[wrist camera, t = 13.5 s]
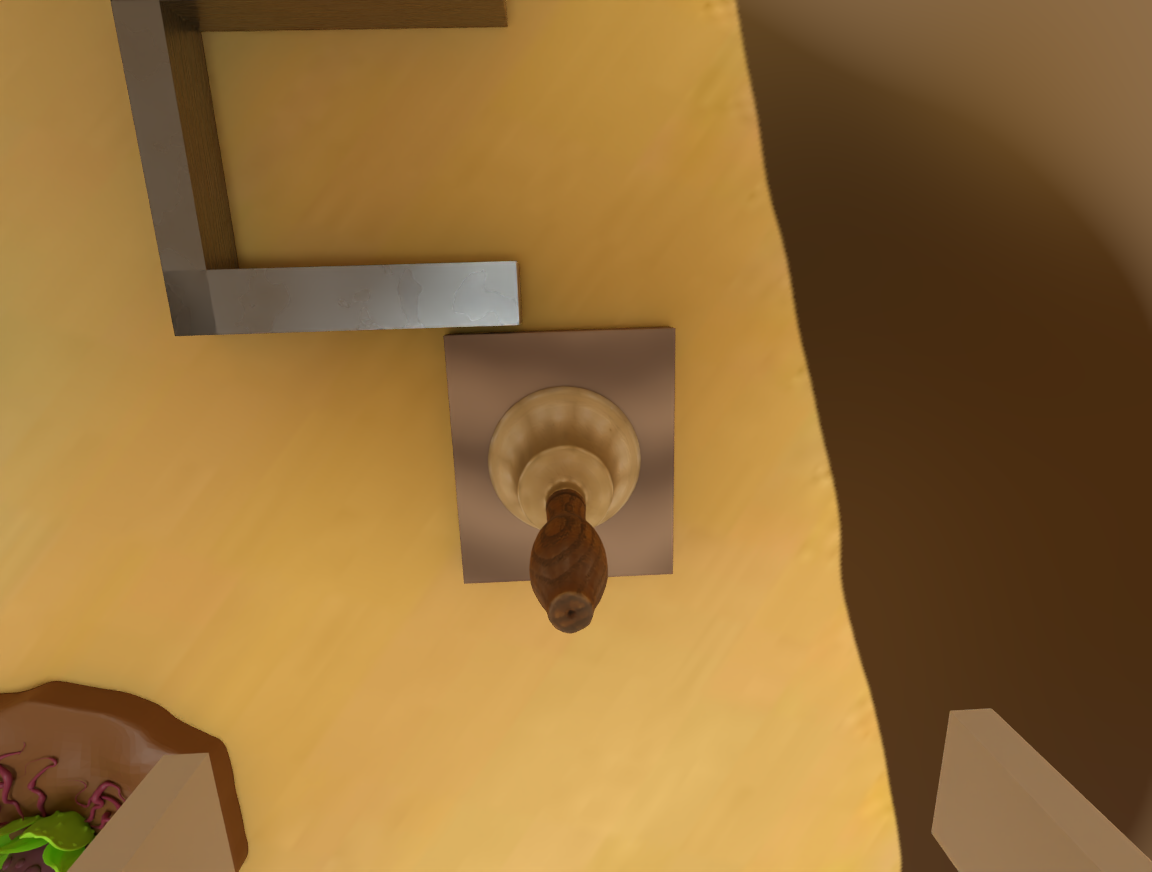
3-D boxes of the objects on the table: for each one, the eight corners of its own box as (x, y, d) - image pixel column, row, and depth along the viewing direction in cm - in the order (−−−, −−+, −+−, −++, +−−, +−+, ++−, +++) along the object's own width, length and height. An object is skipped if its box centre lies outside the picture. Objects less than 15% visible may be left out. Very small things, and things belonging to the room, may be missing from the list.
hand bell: (463, 493, 32) (379, 681, 16) (529, 358, 30) (507, 426, 15) (595, 555, 33) (635, 784, 18) (667, 428, 32) (779, 559, 16)
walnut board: (448, 333, 31) (443, 335, 30) (669, 326, 32) (675, 328, 30) (467, 571, 35) (464, 583, 33) (667, 562, 35) (672, 573, 34)
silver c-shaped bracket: (144, -42, 27) (94, -84, 24) (503, -47, 27) (497, -87, 24) (210, 332, 31) (175, 336, 28) (522, 321, 31) (519, 324, 28)
